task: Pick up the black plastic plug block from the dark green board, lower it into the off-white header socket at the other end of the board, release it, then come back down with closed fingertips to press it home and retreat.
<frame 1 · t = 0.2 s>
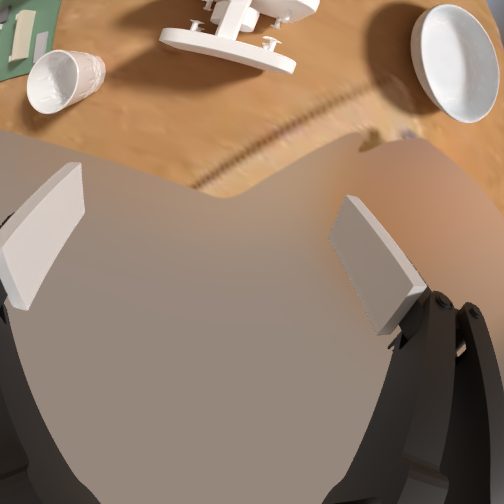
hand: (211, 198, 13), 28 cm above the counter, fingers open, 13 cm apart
board: (22, 17, 17), on the counter
serving bowl: (439, 58, 29), on the counter
white cup: (86, 75, 28), on the counter
cable organizer: (233, 25, 27), on the counter
header: (9, 41, 18), resting on board
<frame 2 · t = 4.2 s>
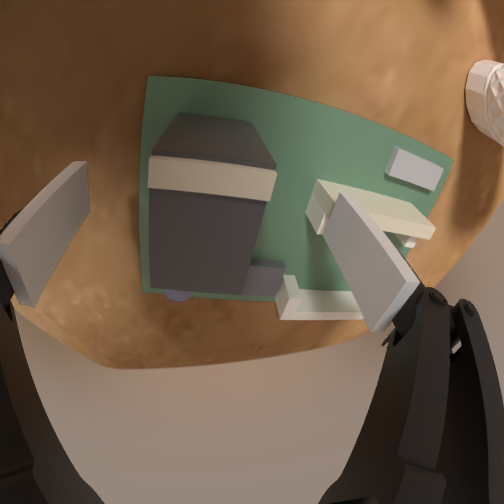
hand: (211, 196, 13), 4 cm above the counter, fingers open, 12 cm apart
plug: (206, 165, 15), resting on board
board: (302, 219, 19), on the counter
white cup: (485, 95, 13), on the counter
header: (342, 251, 21), resting on board
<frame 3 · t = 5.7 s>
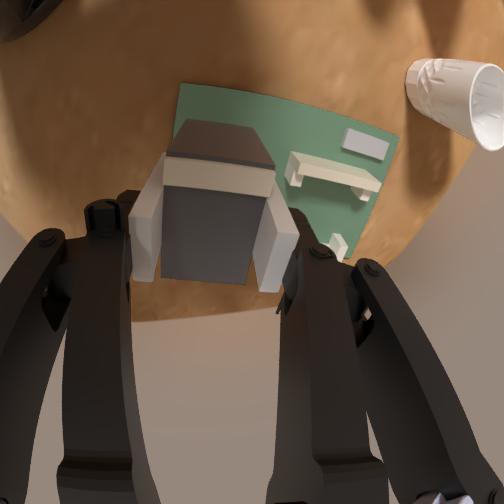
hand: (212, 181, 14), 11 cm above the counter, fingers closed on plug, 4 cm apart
plug: (212, 168, 17), point 8 cm above the counter, touching gripper
board: (283, 181, 27), on the counter
white cup: (426, 86, 21), on the counter
header: (315, 206, 28), resting on board
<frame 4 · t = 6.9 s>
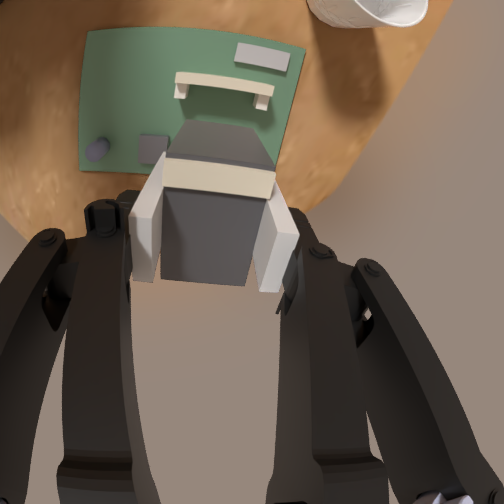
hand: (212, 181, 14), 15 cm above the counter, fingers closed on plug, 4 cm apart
plug: (212, 169, 17), point 12 cm above the counter, touching gripper
board: (179, 102, 24), on the counter
white cup: (336, 1, 18), on the counter
header: (215, 126, 25), resting on board
when the fingers open (3 cm above the counter, at t = 8.6 s): plug stays where it is, resting on board.
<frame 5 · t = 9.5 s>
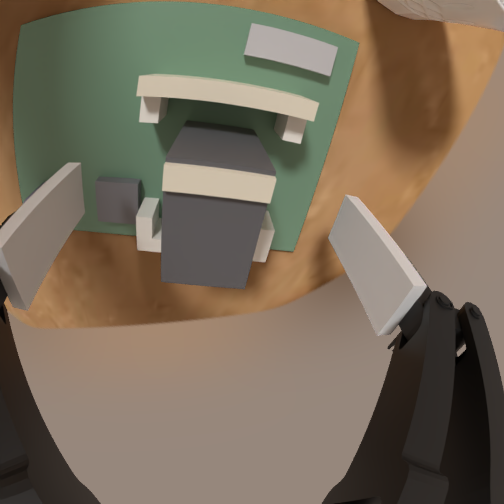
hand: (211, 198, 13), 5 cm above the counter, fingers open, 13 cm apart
plug: (212, 170, 17), resting on board
board: (153, 125, 15), on the counter
header: (212, 163, 16), resting on board
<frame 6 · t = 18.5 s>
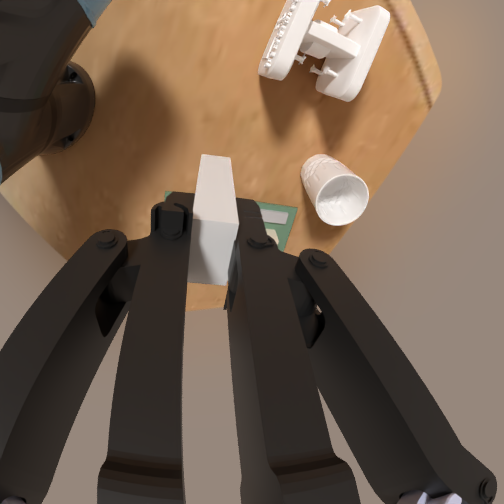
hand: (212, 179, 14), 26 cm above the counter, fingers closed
board: (225, 238, 49), on the counter
white cup: (319, 172, 43), on the counter
cable organizer: (304, 41, 30), on the counter
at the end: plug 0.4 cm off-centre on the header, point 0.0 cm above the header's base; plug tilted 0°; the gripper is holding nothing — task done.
